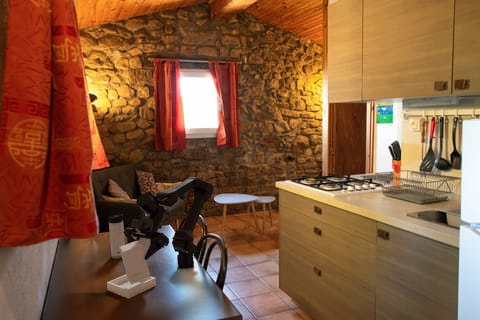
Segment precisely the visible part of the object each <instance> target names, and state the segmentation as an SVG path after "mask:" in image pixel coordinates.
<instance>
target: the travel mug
mask: <svg viewBox="0 0 480 320" xmlns="http://www.w3.org/2000/svg"><path fill="white" fill-rule="evenodd" d="M123 217H124V214H120V213H119V214H115V215H111V216H109V217H108V226H109V227H108V228H109V229H108V230H109V241H110V253H111V259H114V260H115V259H116V260H117V259H122V256H121V252H120V246H123V245H126V244H125V242H126V241H125V234H123V232H124V231H125V227H124V218H123Z"/></svg>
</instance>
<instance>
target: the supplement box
mask: <svg viewBox="0 0 480 320" xmlns="http://www.w3.org/2000/svg"><path fill="white" fill-rule="evenodd" d="M120 252H121V256H122V258H121V259H122V262H123V266H124V270H125V275H127V278H128V280H129V282H130V284H134V283H137V282H139V281H142V280H145V279H147V278H150V276H151V275H150V270H149V265H148V261H147V260H145V259H144V258H145V255H146V252H145V249H144V245H143V244H142V243H141V241H140V240H137V241H134V242H132V243H129V244H127V243H126V244H125V245H123V246H120Z"/></svg>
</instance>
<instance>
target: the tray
mask: <svg viewBox="0 0 480 320" xmlns="http://www.w3.org/2000/svg"><path fill="white" fill-rule="evenodd" d="M156 286H157V282H156V277H154V276H151V275H150V278H147V279H145V280H142V281H139V282H137V283H134V284H130V282H129V280H128V278H127V275H126V274H124V275H121V276H119V277H117V278H114V279H112V280H109V281H107V282H106V289H107V291H109V292H111V293H114V294H115V295H119V296H121V297H123V298H126V299H131V298H133V297H134V296H137V295H139V294H142V293H143V292H145V291H148V290H149V289H152V288H154V287H156Z"/></svg>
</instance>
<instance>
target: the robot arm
mask: <svg viewBox="0 0 480 320" xmlns="http://www.w3.org/2000/svg"><path fill="white" fill-rule="evenodd" d="M191 190H192V195H193V201H192V203H191V205H190V208H189V210H188V213H187V216H186V217H185V221H184V222H183V225H182V227H181V228H180V229H176V230H175V231H174V234H173V236H172V238H171V239H172V241H171V245H172V247H173V250H174V252H175V253H178V254H177V256H176V259H177V260H176V261H177V267H178V269H192V268H195V260H194V254H196V252H198V246H197V245H196V244H195V243H194V241H195V238H194V230H195V228H196V225H197V223H198V220H199V218H200V215H201V213H202V210H203V208H204V205H205V203H206V202H207V201H209V199H210V198H211V197H212V195H213V193H214V186H213V184H212V183H211V182H207V181H205V180H203V179H201V178H199V177H196V176H195V177H194V176H189V177H187V179H185V180H184V181H182V182H180V183H178V184H177V185H176V186H173V187H172V188H169V189H163V190H161V191H158V192H156V194H155V195H153V193H152V192H151V191H145V192H144V193H143V194H141V195H139V197H138V198H137V199H136V200H135V201H136V202H135V204H136V206H137V207H139V208H140V210H142V212H144V213H145V214H147V217H144V218H143V219H137V218H132V221H131V225H130V227H126V228H124V232H123V234H124V238H126V240H127V243H126V244H129V243H132V242H134V241H137V240H139V241H140V240H141V239H144V240H149V241H150V244H149V247H148V249H147V250H146V252H145V258H144V259H145V260H146V261H147V260H148V259H150V258H151V257H152V256H153V255H155V254H156V253H157V252H159V251H160V250H161V249H164V248H165V247H168V246H169V244H170V238H169V237H168V236H167V235H166V234H165V233H163V232H159V230H162V228H163V226H162V223H163V221H164V219H165V216H166V217H170V215H171V214H170V212H169V208H172V207H174V205H175V204H177V203H178V201H179V199H180V198H181V197H182V196H183V195H185V194H187V193H188V192H191ZM165 207H166V208H165ZM167 207H168V208H167Z"/></svg>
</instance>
